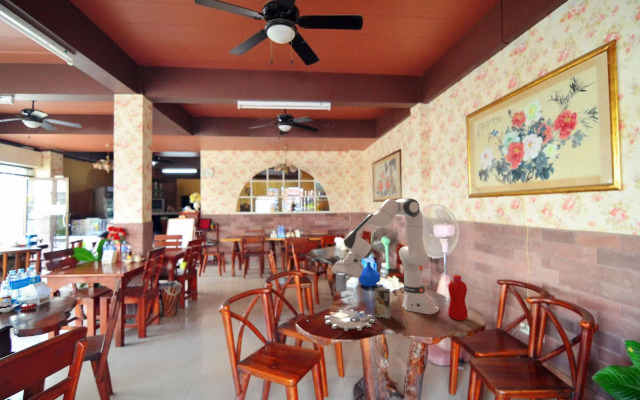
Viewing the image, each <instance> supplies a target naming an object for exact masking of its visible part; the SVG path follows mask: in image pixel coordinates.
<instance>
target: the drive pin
mask: <svg viewBox="0 0 640 400" xmlns="http://www.w3.org/2000/svg"><path fill="white" fill-rule="evenodd" d="M346 277H347V276H346V274H345V273H337V274H335V291H336V292H341V293H343V292H345V291H347V282H344V278H346Z"/></svg>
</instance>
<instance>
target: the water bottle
mask: <svg viewBox="0 0 640 400" xmlns="http://www.w3.org/2000/svg"><path fill="white" fill-rule="evenodd" d="M452 277H453V280H452V281H450V282H449V283H448V284H447V285H448V286H447V290H448V295H449V300H450V301H449V305H448V309H447V311H448V313H447V314H448V317H449V319H453V320H456V321H461V322H462V321H464V320H467V319H468V315H469V314H468V309H467V304H466V296H467V292H468V288H467V284H466V283H465V282H464V281H462V275H458V274H456V275H453V276H452Z"/></svg>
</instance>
